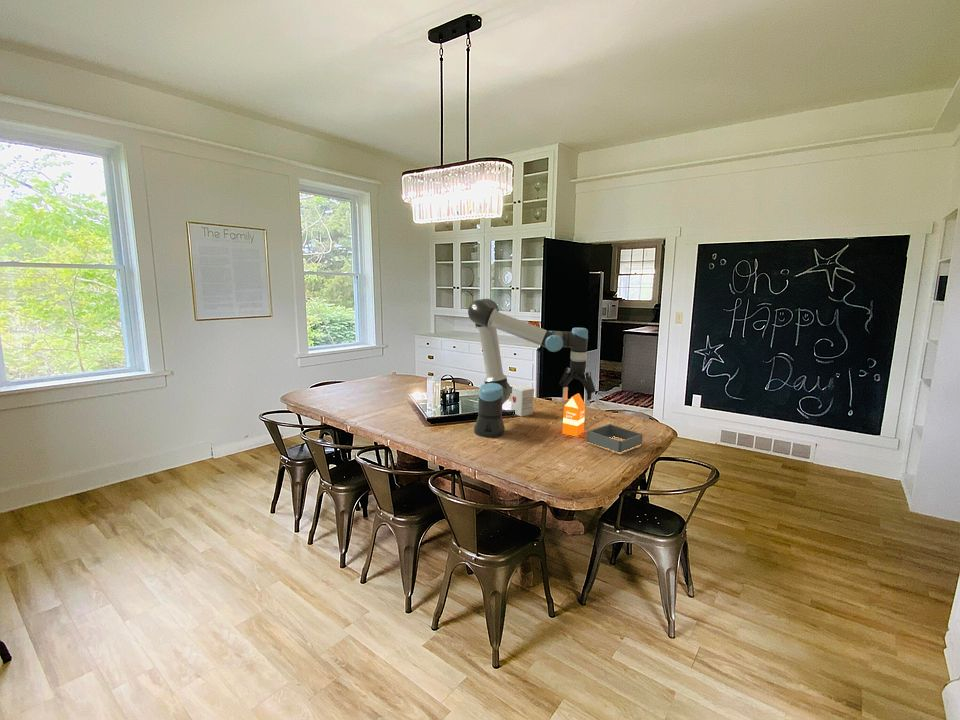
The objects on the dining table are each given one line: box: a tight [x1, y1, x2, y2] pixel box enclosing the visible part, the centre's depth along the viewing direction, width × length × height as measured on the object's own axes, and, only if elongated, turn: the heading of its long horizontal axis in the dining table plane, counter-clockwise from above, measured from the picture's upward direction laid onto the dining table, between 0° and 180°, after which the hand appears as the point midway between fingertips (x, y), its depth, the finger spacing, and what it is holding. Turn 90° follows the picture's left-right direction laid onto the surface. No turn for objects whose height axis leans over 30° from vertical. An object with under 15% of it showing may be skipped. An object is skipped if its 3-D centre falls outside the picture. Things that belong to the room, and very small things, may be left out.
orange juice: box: [561, 393, 586, 437], centre depth 222 cm, size 8×9×20 cm
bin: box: [586, 423, 644, 452], centre depth 210 cm, size 18×18×6 cm
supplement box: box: [510, 384, 535, 418], centre depth 253 cm, size 9×9×15 cm
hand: (575, 402), depth 221 cm, fingers open, 13 cm apart
